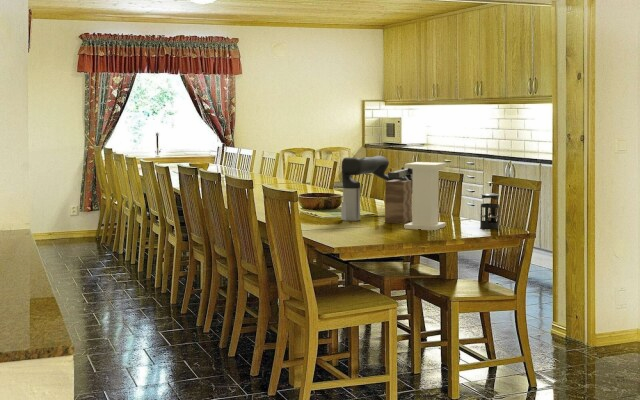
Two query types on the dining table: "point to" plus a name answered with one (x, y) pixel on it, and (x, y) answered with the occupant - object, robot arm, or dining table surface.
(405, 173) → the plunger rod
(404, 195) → the low block
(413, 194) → the tall stand
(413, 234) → the dining table surface
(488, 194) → the french press
